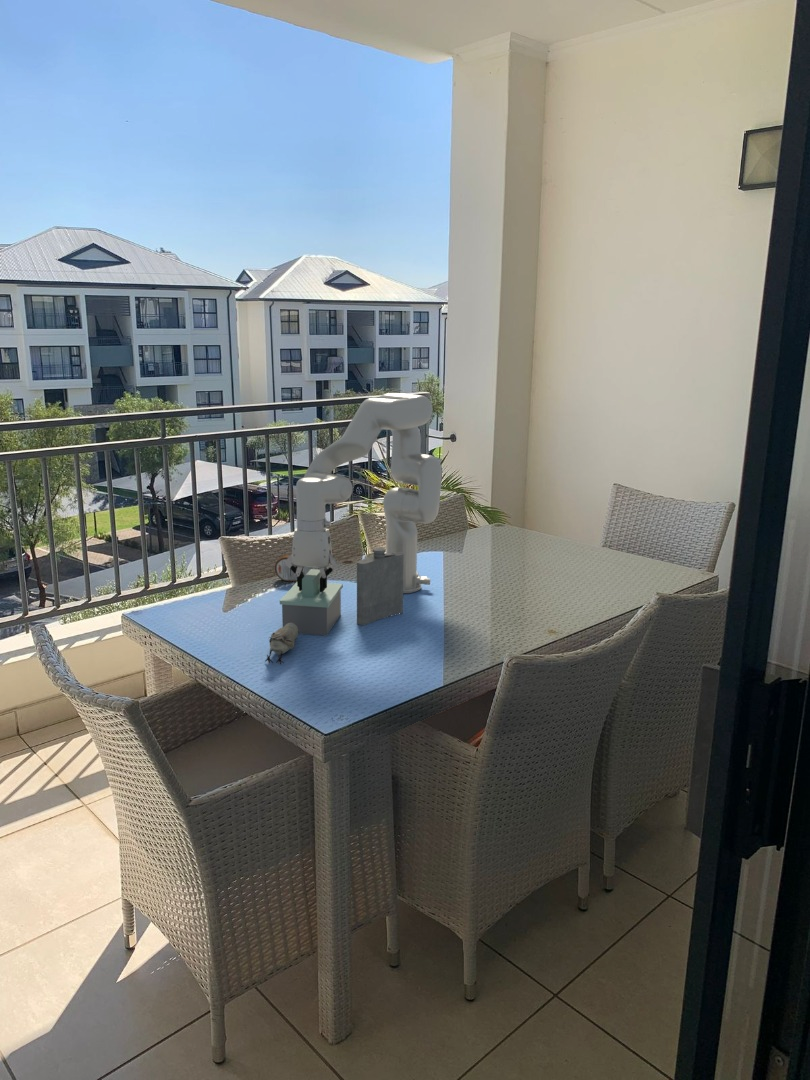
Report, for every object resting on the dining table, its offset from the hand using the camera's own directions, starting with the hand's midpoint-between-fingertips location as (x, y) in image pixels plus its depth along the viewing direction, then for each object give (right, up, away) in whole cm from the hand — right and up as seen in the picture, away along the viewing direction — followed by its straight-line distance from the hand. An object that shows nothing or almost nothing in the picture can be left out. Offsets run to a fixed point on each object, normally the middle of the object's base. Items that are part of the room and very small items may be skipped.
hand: (312, 589), depth 212 cm
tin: (-9, 0, +38) cm, 39 cm away
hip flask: (+18, -9, +8) cm, 21 cm away
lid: (0, -3, +1) cm, 3 cm away
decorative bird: (-5, -15, -17) cm, 23 cm away
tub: (0, -9, +3) cm, 10 cm away
